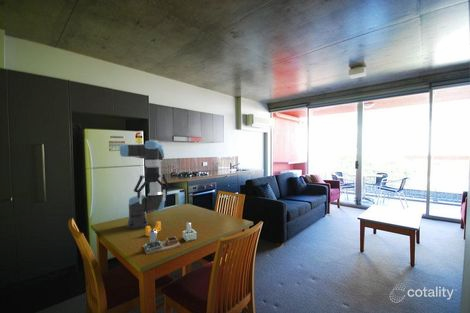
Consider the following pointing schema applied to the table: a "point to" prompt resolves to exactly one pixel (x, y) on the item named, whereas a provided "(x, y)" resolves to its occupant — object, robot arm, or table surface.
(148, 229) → the pipe clamp
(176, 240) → the mount
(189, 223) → the pin
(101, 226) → the table surface
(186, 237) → the tray
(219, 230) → the table surface
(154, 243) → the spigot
